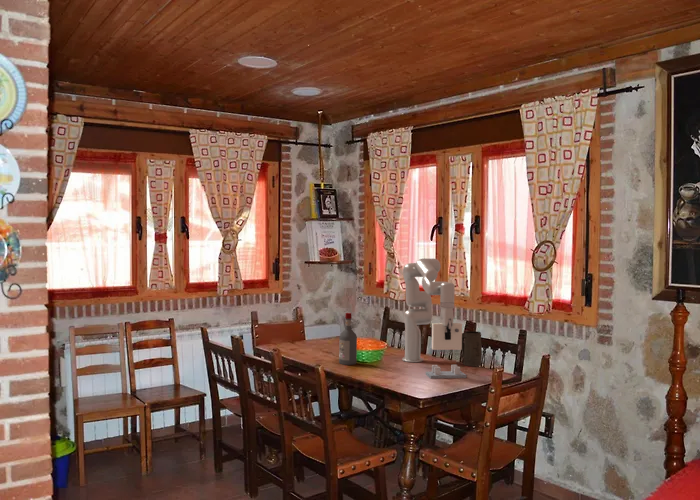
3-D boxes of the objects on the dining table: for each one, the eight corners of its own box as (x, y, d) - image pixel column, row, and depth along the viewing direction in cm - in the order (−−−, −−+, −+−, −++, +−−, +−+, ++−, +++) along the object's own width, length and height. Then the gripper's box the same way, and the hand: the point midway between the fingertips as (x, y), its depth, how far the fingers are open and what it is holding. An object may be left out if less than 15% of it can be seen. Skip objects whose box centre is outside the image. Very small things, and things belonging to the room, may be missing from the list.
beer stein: (486, 365, 361) (485, 331, 362) (475, 367, 354) (473, 333, 355) (465, 362, 373) (464, 330, 374) (454, 364, 366) (453, 331, 366)
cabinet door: (431, 348, 330) (431, 323, 330) (459, 348, 332) (460, 323, 332) (433, 350, 326) (434, 324, 326) (462, 349, 328) (462, 324, 328)
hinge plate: (425, 374, 334) (425, 364, 334) (460, 373, 336) (460, 363, 336) (430, 378, 324) (430, 368, 324) (466, 377, 326) (466, 367, 326)
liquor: (346, 365, 353) (347, 314, 353) (337, 363, 360) (337, 312, 360) (358, 363, 359) (359, 313, 359) (348, 361, 366) (349, 311, 366)
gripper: (436, 304, 337) (435, 337, 337) (444, 306, 321) (444, 341, 321) (449, 304, 338) (448, 336, 338) (458, 306, 322) (458, 341, 322)
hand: (446, 338), depth 329 cm, fingers closed on cabinet door, 3 cm apart
